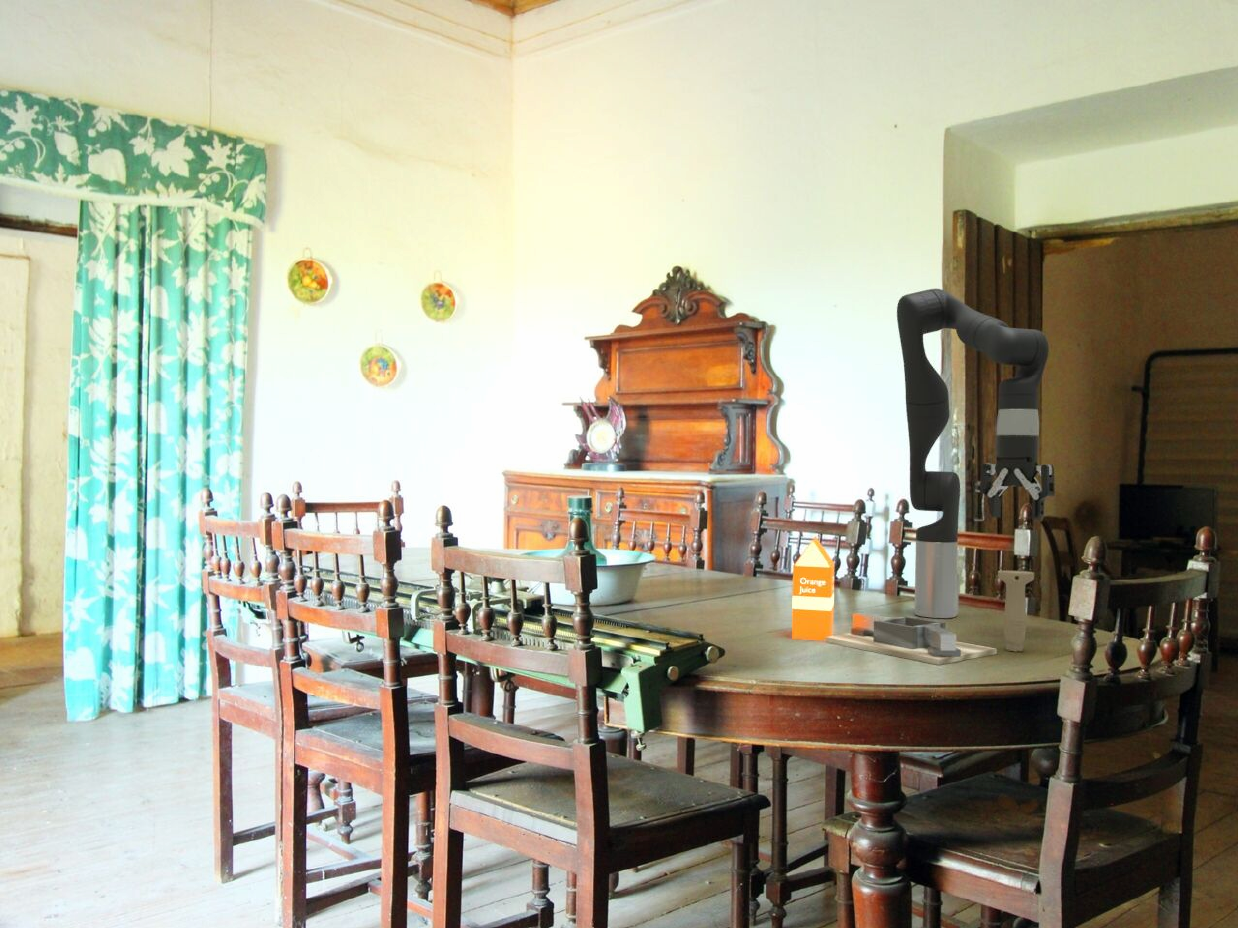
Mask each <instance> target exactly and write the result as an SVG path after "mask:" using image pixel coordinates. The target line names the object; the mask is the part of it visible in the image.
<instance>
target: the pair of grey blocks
mask: <svg viewBox="0 0 1238 928" xmlns="http://www.w3.org/2000/svg"><path fill="white" fill-rule="evenodd" d="M891 618H893V616H886V615H885V616H884V615H878V614H874V613H867V612H855V613H852V627H851V629H850V631H851V632H850V633H851V634H852V635H857V636H862V637H865V636H871V635H874V621H877V620H878V621H879V620H884V619H891ZM923 626H924V637H923V641H924V642H926V643H928V644H930V645H932V646H933V647H928V654H930V655H932V656H940V657H961V650H960V649H958V648H956V641H957V634H955V633H953V632H951V631H949V630H947V629H946V628H945V629H943V628H941V627H939V626H937V625H923Z"/></svg>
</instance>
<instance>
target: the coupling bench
mask: <svg viewBox="0 0 1238 928" xmlns="http://www.w3.org/2000/svg"><path fill="white" fill-rule="evenodd" d="M923 625H937V626H939V627H941V628H943V629H945V630H946V622H942V621H936V620H930V619H923V618H917V617H911V616H907V615H906V616H900V617H892V618H891V619H884V620H879V621H878V620H877V621H874V635H871V636H865V637H862V636H857V635H852V634H851V632H850V633H849V632H848V633H843V634H837V635H832V636H828V637H826V641H825V643H828V644H829V643H830V644H833V645H838V646H844V647H848V648H853V649H857V650H859V649H860V650H862V651H868V652H873V653H874V652H875V653H877V654H883V655H887V656H888V655H889V656H891V657H892V656H893V657H898V658H903V659H907V660H912V661H916V662H922V663H927V664H930V665H931V664H932V665H935V666H936V665H937V666H942V665H946V664H952V663H956V662H961V661H966V660H973V659H978V658H983V657H987V656H988V657H989V656H993V655H997V649H998V648H994V647H991V646H984V645H977V644H973V643H968V642H962V641H961V642H960V641H957V640H956V648H958V649H960V650H961V657H940V656H932V655H930V654H928V647H933V646H932V645H930V644H928V643H926V642H924V641H923V637H924V626H923Z"/></svg>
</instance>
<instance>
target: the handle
mask: <svg viewBox="0 0 1238 928" xmlns="http://www.w3.org/2000/svg"><path fill="white" fill-rule="evenodd" d="M997 578H998V579H999V580H1001V582H1004V584H1005V588H1006V589H1005V590H1006V591H1005V602H1004V612H1003V613H1004V614H1003V636H1004V641H1005V643H1004V645H1005V649H1006V651H1008V652H1014V653H1016V652H1023V651H1024V646H1025V645H1024V642H1025V640H1026V630H1027V611H1026V608H1027V607H1026V585H1027V584H1029V583H1031V582H1032V581H1034V579H1035V572H1034V571H1033V572H1032V571H1024V570H998V571H997Z"/></svg>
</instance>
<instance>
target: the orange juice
mask: <svg viewBox="0 0 1238 928" xmlns="http://www.w3.org/2000/svg"><path fill="white" fill-rule="evenodd" d="M791 601H792V606H791V607H792V608H791V609H792V614H791V615H792V620H791V621H792V623H791V625H792V626H791V639H793V640H810V641H822V642H823V641H824V642H826V637H828V636H834V607H835V606H834V605H835V562H834V561H833V559H832V558H831V557H830V555H829V554H828V552H827V551H826V549H825V548H824V546H823V545H822V543H821V542H820V541H819V539H818V537H817V536H815V537H814V538H813V539H812V540H811V541H810V542H809V544H808V545H807V547H806V548H805V549H804V550H803V552H802V553H801V555H800V556H799V557H798V559H797V560H796V561H795V563H794V564H793V567H792V600H791Z"/></svg>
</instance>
